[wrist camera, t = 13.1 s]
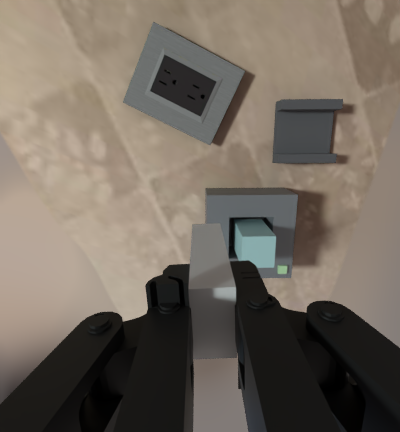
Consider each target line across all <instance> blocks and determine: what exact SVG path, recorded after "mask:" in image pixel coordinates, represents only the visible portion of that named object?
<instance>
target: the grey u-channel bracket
mask: <svg viewBox="0 0 400 432" xmlns="http://www.w3.org/2000/svg"><path fill="white" fill-rule="evenodd" d="M342 104H343V99H299V100H281V101H277V102H276V110H275V128H274V145H273V162H272V163H336V156H337V154H332V153H329V152H330V143H331V134H332V124H333V115H334V111H336V110H340V109H342Z"/></svg>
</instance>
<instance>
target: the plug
mask: <svg viewBox="0 0 400 432" xmlns="http://www.w3.org/2000/svg"><path fill="white" fill-rule="evenodd" d="M231 242H232V245H233V246H234V249H235V252H236V255H237V257H238V260H239V261H246V260H249V261H250V262H252V263H253V264H255V265H256V267H257V268H274V263H275V248H276V235H275V234H274V233H273V232H272V231H271V230H270V228H269V227H268V226H267V225H266V224H265V223H264V221H263V220H262V218H261V217H232V221H231Z"/></svg>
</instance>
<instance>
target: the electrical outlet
mask: <svg viewBox="0 0 400 432" xmlns="http://www.w3.org/2000/svg"><path fill="white" fill-rule="evenodd" d="M244 72H245V71H244V70H242V69H240V68H238V67H236V66H235V65H233V64H231V63H229V62H227V61H225V60H223V59H222V58H220V57H218V56H216V55H214V54H212V53H210V52H209V51H207V50H205V49H203V48H201V47H199V46H197V45H196V44H194V43H192V42H190V41H188V40H186V39H185V38H183V37H181V36H179V35H177V34H175V33H173V32H172V31H170V30H168V29H166V28H164V27H162V26H160V25H159V24H157V23H155V22H153V25H152V27H151V30H150V32H149V35H148V38H147V40H146V43H145V46H144V48H143V51H142V53H141V56H140V59H139V61H138V64H137V67H136V69H135V72H134V74H133V77H132V80H131V82H130V85H129V88H128V90H127V93H126V95H125V98H124V101H123V102H124V103H126V104H128V105H130V106H132V107H134V108H136V109H138V110H140V111H142V112H144V113H146V114H148V115H150V116H152V117H154V118H156V119H158V120H160V121H162V122H164V123H166V124H168V125H170V126H172V127H174V128H176V129H178V130H180V131H182V132H184V133H186V134H188V135H190V136H192V137H194V138H196V139H198V140H200V141H202V142H204V143H206V144H208V145H210V144H211V142H212V140H213V138H214V136H215V134H216V132H217V130H218V127H219V125H220V123H221V121H222V119H223V117H224V115H225V113H226V110H227V108H228V106H229V104H230V102H231V100H232V98H233V96H234V93H235V91H236V89H237V87H238V85H239V83H240V81H241V79H242V76H243V74H244Z"/></svg>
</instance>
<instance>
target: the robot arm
mask: <svg viewBox="0 0 400 432" xmlns="http://www.w3.org/2000/svg"><path fill="white" fill-rule="evenodd" d="M146 294H147V303H148V311H147V314H145V315H143V316H141V317H139V318H136V319H132V320H128V321H125V322H123V321H122V317H121V316H120V315H119V314H118V313H114V312H100V313H97V314H94V315H92V316H89V317H87V318H86V319H85V320H83V321H82V322H81V323H80V324H79V325H78V326H77V327H76V328H75V329H74V330H73V331H72V332H71V333H70V334H69V335H68V336H67V337H66V338H65V339H64V340H63V341H62V342H61V343H60V344H59V345H58V346H57V347H56V348H55V349H54V350H53V351H52V352H51V353H50V354H49V355H48V356H47V357H46V358H45V359H44V360H43V361H42V362H41V363H40V364H39V365H38V367H36V368H35V369H34V371H33V372H32V373H31V374H30V375H29V376H28V377H27V378H26V379H25V380H24V381H23V382H22V383H21V384H20V385H19V386H18V387H17V388H16V389H15V390H14V391H13V392H12V393H11V394H10V395H9V396H8V397H7V398H6V399H5V400H4V401H3V402H2V403H1V404H0V432H193V398H194V367H193V359H214V358H215V359H216V358H236V357H237V353H238V388H239V389H241V390H242V396H243V402H244V407H245V413H246V419H247V425H248V431H249V432H400V348H399V347H398V346H396V345H395V344H394V343H393V342H391V341H390V340H389V339H387V338H386V337H385V336H383V335H382V334H381V333H379V332H378V331H377V330H376V329H375V328H373V327H372V326H370V325H369V324H368V323H367V322H365V321H364V320H363V319H362V318H360V317H359V316H358V315H356V314H355V313H354V312H352V311H351V310H350V309H348V308H347V307H345V306H343V305H341V304H338V303H335V302H332V301H316V302H313V303H310V304H309V306H308V307H307V313H305V312H299V311H293V310H288V309H285V308H283V307H281V305H280V303H279V301H278V300H277V299H276V298H275V297H273V296H272V295H270V294H268V292H267V289H266V287H265V285H264V283H263V280H262V278H261V276H260V274H259V271H258V269H257V267H256V265H255V264H253V263H252V262H250V261H249V260H246V261H229V257H228V253H227V249H226V245H225V241H224V237H223V233H222V229H221V225H220V223H213V224H192V240H191V256H190V264H178V265H169V266H168V267H167V268H166V269H165V270H164V271H163V274H162V275H160V276H157V277H154V278H152V279H151V280H149V281H148V282H147V284H146Z"/></svg>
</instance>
